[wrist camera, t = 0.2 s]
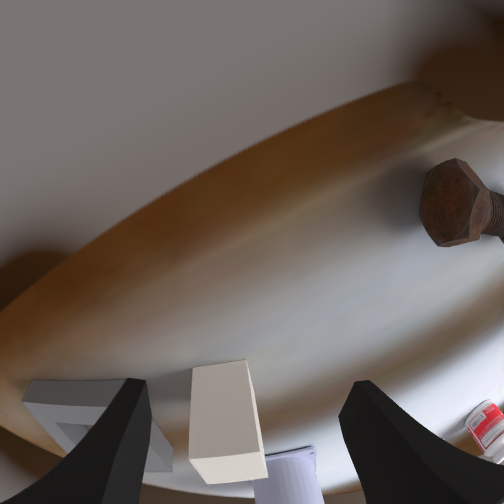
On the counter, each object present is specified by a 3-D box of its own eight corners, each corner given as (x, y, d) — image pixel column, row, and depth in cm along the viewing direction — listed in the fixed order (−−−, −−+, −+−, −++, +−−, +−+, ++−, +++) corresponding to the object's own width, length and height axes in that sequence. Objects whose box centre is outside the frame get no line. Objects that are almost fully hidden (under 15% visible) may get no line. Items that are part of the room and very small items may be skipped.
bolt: (507, 220, 22) (408, 199, 19) (532, 185, 18) (439, 143, 15) (533, 266, 18) (442, 264, 16) (564, 231, 14) (489, 206, 12)
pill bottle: (483, 413, 34) (512, 453, 23) (459, 429, 33) (487, 473, 23) (495, 392, 31) (528, 434, 21) (470, 409, 31) (503, 456, 21)
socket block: (173, 448, 25) (172, 472, 22) (86, 446, 24) (80, 466, 21) (128, 378, 21) (121, 406, 18) (32, 380, 20) (21, 401, 17)
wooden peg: (254, 393, 22) (268, 477, 15) (206, 400, 22) (207, 484, 15) (246, 359, 21) (260, 451, 13) (192, 367, 21) (188, 459, 13)
